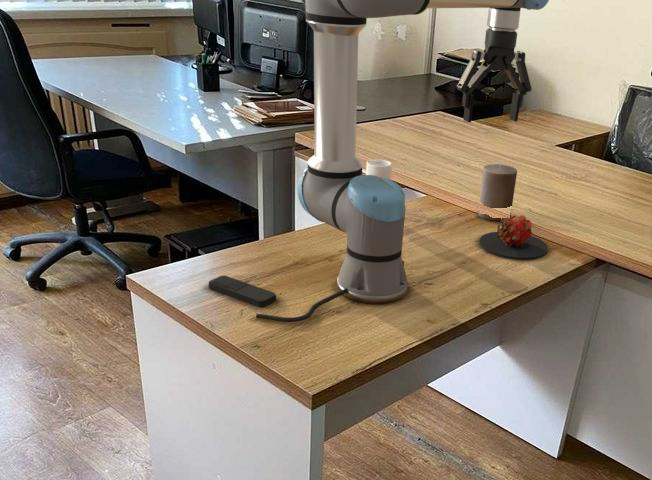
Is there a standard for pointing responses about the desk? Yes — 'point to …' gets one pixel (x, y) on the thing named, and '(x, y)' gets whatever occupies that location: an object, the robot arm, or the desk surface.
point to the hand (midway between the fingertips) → (490, 120)
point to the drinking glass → (379, 168)
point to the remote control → (242, 291)
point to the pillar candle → (497, 187)
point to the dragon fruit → (514, 230)
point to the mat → (513, 247)
